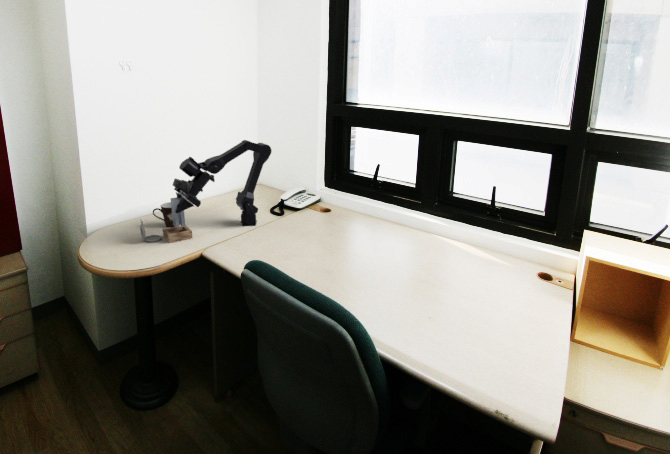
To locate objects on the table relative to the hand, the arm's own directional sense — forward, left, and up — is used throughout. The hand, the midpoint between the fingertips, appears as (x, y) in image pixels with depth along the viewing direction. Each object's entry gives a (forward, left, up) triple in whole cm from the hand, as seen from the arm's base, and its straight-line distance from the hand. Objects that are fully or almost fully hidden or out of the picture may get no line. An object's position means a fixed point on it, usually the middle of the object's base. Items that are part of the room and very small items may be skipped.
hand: (174, 211), depth 192 cm
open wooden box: (0, 0, -12) cm, 12 cm away
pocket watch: (+11, +3, -12) cm, 17 cm away
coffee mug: (+8, -16, -12) cm, 22 cm away
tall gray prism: (-1, -1, -7) cm, 7 cm away
